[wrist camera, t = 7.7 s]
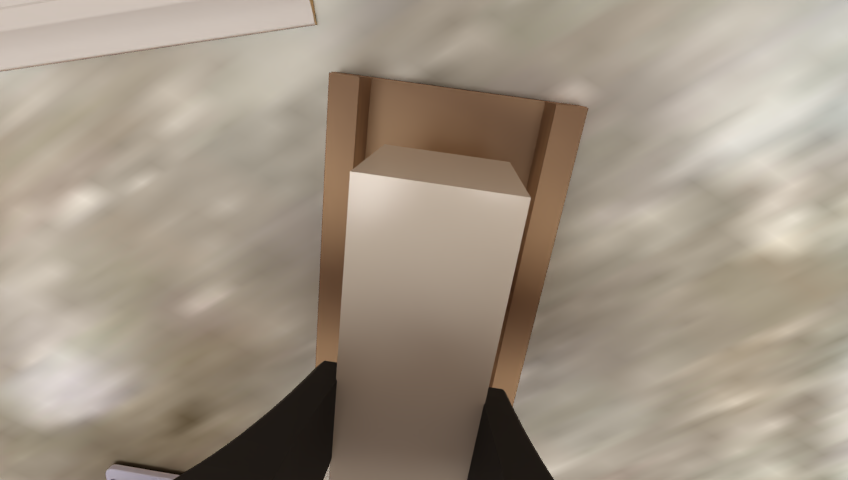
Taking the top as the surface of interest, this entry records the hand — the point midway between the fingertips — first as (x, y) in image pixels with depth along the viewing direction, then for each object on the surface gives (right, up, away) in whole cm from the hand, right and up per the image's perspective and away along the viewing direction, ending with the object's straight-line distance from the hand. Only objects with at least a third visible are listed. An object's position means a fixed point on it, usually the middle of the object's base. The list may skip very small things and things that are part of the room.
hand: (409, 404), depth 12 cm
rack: (+1, +3, +8) cm, 8 cm away
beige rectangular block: (0, +1, +3) cm, 3 cm away
